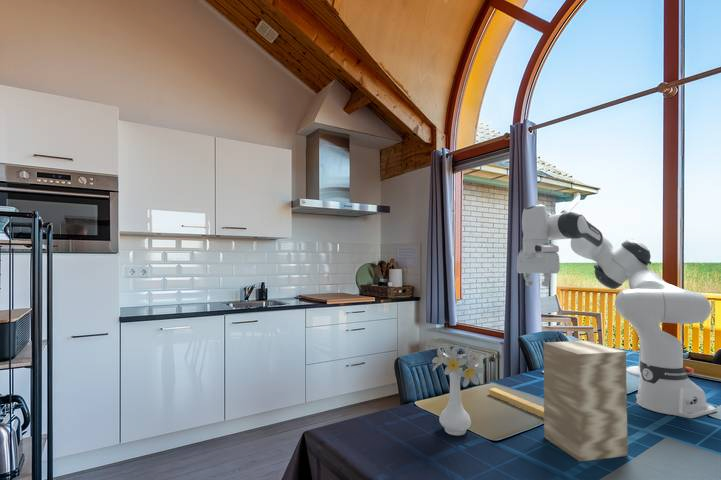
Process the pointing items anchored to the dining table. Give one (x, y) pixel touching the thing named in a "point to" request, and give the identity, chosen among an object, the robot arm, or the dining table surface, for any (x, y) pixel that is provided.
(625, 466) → the dining table surface
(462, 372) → the flower vase
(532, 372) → the dining table surface
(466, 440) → the dining table surface
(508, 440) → the dining table surface
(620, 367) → the pedestal
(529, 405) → the bar
